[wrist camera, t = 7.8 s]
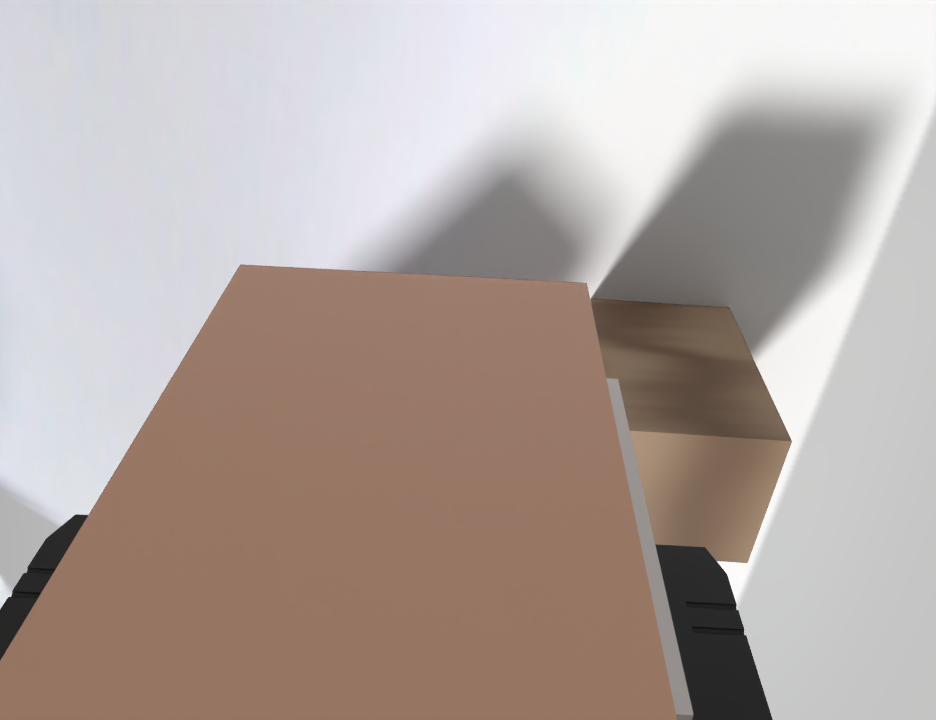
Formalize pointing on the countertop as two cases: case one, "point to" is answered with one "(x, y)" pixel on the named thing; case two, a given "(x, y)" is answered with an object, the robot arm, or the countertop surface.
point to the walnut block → (694, 421)
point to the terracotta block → (361, 521)
